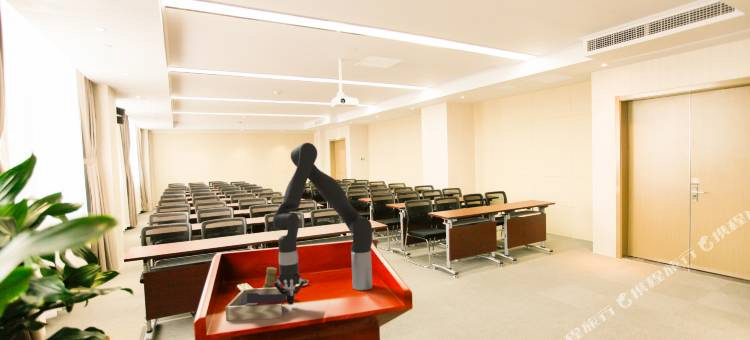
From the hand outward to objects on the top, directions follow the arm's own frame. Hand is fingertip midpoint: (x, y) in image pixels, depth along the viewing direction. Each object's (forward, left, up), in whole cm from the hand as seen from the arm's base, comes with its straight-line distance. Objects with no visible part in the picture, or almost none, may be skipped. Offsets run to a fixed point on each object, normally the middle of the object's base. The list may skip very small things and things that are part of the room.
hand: (290, 303), depth 152 cm
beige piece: (+12, 0, -2) cm, 12 cm away
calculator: (+3, 0, +2) cm, 4 cm away
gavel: (+8, -24, -3) cm, 25 cm away
